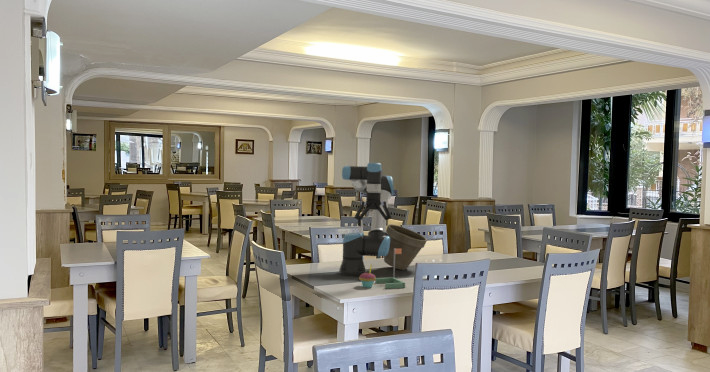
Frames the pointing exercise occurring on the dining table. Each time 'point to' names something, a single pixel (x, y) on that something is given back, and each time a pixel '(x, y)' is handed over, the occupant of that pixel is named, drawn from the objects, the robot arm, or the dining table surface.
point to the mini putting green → (393, 281)
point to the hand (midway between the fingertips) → (372, 232)
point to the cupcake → (367, 278)
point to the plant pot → (403, 246)
